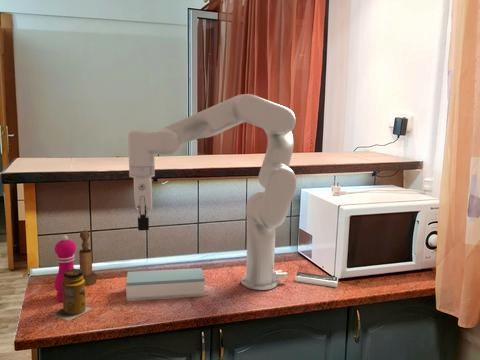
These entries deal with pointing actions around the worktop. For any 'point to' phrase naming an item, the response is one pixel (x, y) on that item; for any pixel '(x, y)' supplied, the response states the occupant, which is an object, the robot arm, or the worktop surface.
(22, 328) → the worktop surface
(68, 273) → the condiment
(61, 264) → the pepper mill
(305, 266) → the worktop surface
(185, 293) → the white open box
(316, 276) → the multiport hub
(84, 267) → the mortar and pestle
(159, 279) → the cover
